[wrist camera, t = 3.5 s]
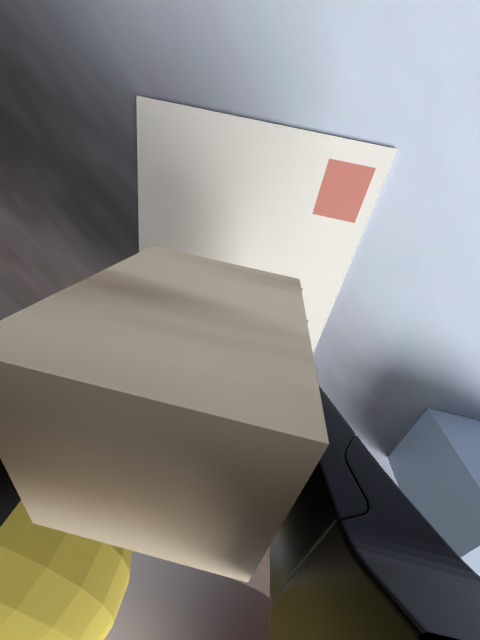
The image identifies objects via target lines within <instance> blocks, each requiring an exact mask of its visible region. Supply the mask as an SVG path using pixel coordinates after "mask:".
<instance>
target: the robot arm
mask: <svg viewBox="0 0 480 640" xmlns="http://www.w3.org/2000/svg"><path fill="white" fill-rule="evenodd" d="M319 391H320V396H321V402H322V407H323V413H324V418H325V424H326V430H327V435H328V441H329V445H328V447H327V448H326V450H325V452H324V454H323V455H322V457H321V459H320V460H319V462H318V464H317V465H316V467H315V469H314V471H313V472H312V474H311V476H310V477H309V479H308V481H307V482H306V484H305V486H304V488H303V489H302V491H301V493H300V494H299V496H298V498H297V499H296V501H295V503H294V505H293V506H292V508H291V510H290V511H289V513H288V515H287V517H286V518H285V520H284V522H283V523H282V525H281V527H280V528H279V530H278V532H277V534H276V535H275V537H274V539H273V540H272V542H271V544H270V602H271V604H270V640H480V576H479V575H478V574H476V573H475V572H474V571H473V570H472V569H471V568H470V567H469V566H468V565H467V564H466V563H465V562H464V561H463V560H462V559H461V558H460V557H459V555H458V554H457V553H456V552H455V551H454V550H453V549H452V548H451V547H450V546H449V544H448V543H447V542H446V541H445V540H444V539H443V538H442V536H441V535H440V534H439V533H438V532H437V531H436V530H435V528H434V527H433V526H432V525H431V524H430V523H429V522H428V520H427V519H426V518H425V517H424V516H423V515H422V514H421V512H420V511H419V510H418V509H417V508H416V507H415V506H414V504H413V503H412V502H411V501H410V500H409V499H408V498H407V497H406V495H405V494H404V493H403V492H402V491H401V490H400V488H399V487H398V486H397V485H396V484H395V483H394V481H393V480H392V479H391V478H390V477H389V476H388V474H387V473H386V472H385V471H384V470H383V468H382V467H381V466H380V465H379V463H378V462H377V461H376V460H375V458H374V457H373V456H372V455H371V453H370V452H369V451H368V450H367V448H366V447H365V446H364V444H363V443H362V442H361V440H360V439H359V438H358V436H356V435H355V433H354V431H353V430H352V429H351V427H350V426H349V425H348V423H347V422H346V421H345V419H344V418H343V417H342V415H341V414H340V413H339V411H338V410H337V409H336V407H335V406H334V405H333V403H332V402H331V401H330V399H329V398H328V397H327V395H326V394H325V393H324V391H323V390H322V389H321V388H320V386H319ZM20 501H21V498H20V496H19V494H18V492H17V490H16V488H15V486H14V484H13V482H12V480H11V478H10V476H9V474H8V472H7V470H6V468H5V466H4V464H3V462H2V460H1V458H0V527H1V526H2V525H3V523H4V522H5V521H6V519H7V518H8V517H9V515H10V514H11V513H12V511H13V510H14V509H15V507H16V506H17V505H18V504H19V502H20Z"/></svg>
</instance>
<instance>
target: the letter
mask: <svg viewBox="0 0 480 640" xmlns="http://www.w3.org/2000/svg"><path fill="white" fill-rule="evenodd" d="M136 102H137V160H138V218H139V252H141V251H143V250H145V249H147V248H149V247H151V246H157V247H161V248H166V249H170V250H174V251H179V252H183V253H188V254H192V255H196V256H201V257H205V258H210V259H214V260H218V261H223V262H227V263H232V264H236V265H240V266H245V267H249V268H253V269H258V270H262V271H267V272H271V273H275V274H280V275H284V276H289V277H293V278H297V279H300V284H301V290H302V296H303V301H304V307H305V312H306V318H307V324H308V329H309V335H310V340H311V346H312V351H313V353H314V350H315V348H316V346H317V343H318V341H319V338H320V336H321V334H322V331H323V329H324V326H325V324H326V322H327V319H328V317H329V314H330V312H331V310H332V307H333V305H334V302H335V300H336V297H337V295H338V293H339V290H340V288H341V285H342V283H343V281H344V278H345V276H346V273H347V271H348V269H349V266H350V264H351V261H352V259H353V257H354V254H355V252H356V249H357V247H358V245H359V242H360V240H361V237H362V235H363V233H364V230H365V228H366V225H367V223H368V220H369V218H370V216H371V213H372V211H373V208H374V206H375V204H376V201H377V199H378V196H379V194H380V192H381V189H382V187H383V184H384V182H385V180H386V177H387V175H388V172H389V170H390V168H391V165H392V163H393V160H394V158H395V155H396V153H397V151H398V149H395V148H390V147H385V146H380V145H375V144H370V143H366V142H361V141H356V140H351V139H346V138H341V137H336V136H331V135H327V134H322V133H317V132H312V131H307V130H302V129H297V128H293V127H288V126H283V125H278V124H273V123H268V122H263V121H258V120H254V119H249V118H244V117H239V116H234V115H229V114H224V113H219V112H215V111H210V110H205V109H200V108H195V107H190V106H185V105H180V104H176V103H171V102H166V101H161V100H156V99H151V98H146V97H141V96H137V95H136Z"/></svg>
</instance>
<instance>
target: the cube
mask: <svg viewBox="0 0 480 640" xmlns="http://www.w3.org/2000/svg"><path fill="white" fill-rule="evenodd" d="M388 460H389V462H390V465H391V468H392V470H393V473H394V475H395V478H396V481H397V483H398V486H399V488H400V490H401V491H402V492H403V493H404V494H405V495H406V497H407V498H408V499H409V500H410V501H411V502H412V503H413V504H414V506H415V507H416V508H417V509H418V510H419V511H420V512H421V514H422V515H423V516H424V517H425V518H426V519H427V520H428V522H429V523H430V524H431V525H432V526H433V527H434V528H435V530H436V531H437V532H438V533H439V534H440V535H441V536H442V538H443V539H444V540H445V541H446V542H447V543H448V544H449V546H450V547H451V548H452V549H453V550H454V551H455V552H456V553H457V554H458V555H459V557H460V558H461V559H462V560H463V561H464V562H465V563H466V564H467V565H468V566H469V567H470V568H471V569H472V570H473V571H474V572H475V573H476V574H478V575H479V576H480V420H475V419H471V418H467V417H463V416H459V415H455V414H451V413H447V412H443V411H438V410H434V409H430V408H427V410H426V411H425V412H424V413H423V414H422V416H421V417H420V418H419V419H418V421H417V422H416V423H415V424H414V425H413V427H412V428H411V429H410V430H409V432H408V433H407V434H406V435H405V436H404V438H403V439H402V440H401V441H400V443H399V444H398V445H397V446H396V448H395V449H394V450H393V451H392V452H391V454H390V455H389V456H388Z"/></svg>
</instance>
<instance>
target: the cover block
mask: <svg viewBox="0 0 480 640" xmlns="http://www.w3.org/2000/svg"><path fill="white" fill-rule="evenodd" d="M328 445H329V441H328V435H327V430H326V424H325V418H324V413H323V407H322V402H321V396H320V391H319V385H318V379H317V374H316V368H315V363H314V357H313V351H312V346H311V340H310V335H309V329H308V324H307V318H306V312H305V307H304V301H303V296H302V290H301V284H300V279H297V278H293V277H289V276H284V275H280V274H275V273H271V272H267V271H262V270H258V269H253V268H249V267H245V266H240V265H236V264H232V263H227V262H223V261H218V260H214V259H210V258H205V257H201V256H196V255H192V254H188V253H183V252H179V251H174V250H170V249H166V248H161V247H157V246H151V247H149V248H147V249H145V250H143V251H141V252H139V253H137V254H135V255H133V256H131V257H129V258H127V259H125V260H123V261H121V262H119V263H117V264H115V265H113V266H111V267H109V268H106V269H104V270H102V271H100V272H98V273H96V274H94V275H92V276H90V277H88V278H86V279H84V280H82V281H80V282H78V283H76V284H74V285H72V286H70V287H68V288H66V289H64V290H62V291H60V292H57V293H55V294H53V295H51V296H49V297H47V298H45V299H43V300H41V301H39V302H37V303H35V304H33V305H31V306H29V307H27V308H25V309H23V310H21V311H19V312H17V313H15V314H13V315H11V316H8V317H6V318H4V319H2V320H0V458H1V460H2V462H3V464H4V466H5V468H6V470H7V472H8V474H9V476H10V478H11V480H12V482H13V484H14V486H15V488H16V490H17V492H18V494H19V496H20V498H21V500H22V502H23V504H24V506H25V508H26V510H27V512H28V514H29V516H30V518H31V520H32V522H33V523H34V524H38V525H41V526H45V527H49V528H52V529H56V530H60V531H63V532H67V533H70V534H74V535H78V536H81V537H85V538H89V539H92V540H96V541H99V542H103V543H107V544H110V545H114V546H117V547H121V548H125V549H128V550H132V551H136V552H139V553H143V554H147V555H150V556H154V557H157V558H161V559H165V560H168V561H172V562H175V563H179V564H183V565H187V566H190V567H194V568H198V569H201V570H205V571H208V572H212V573H215V574H219V575H223V576H226V577H230V578H233V579H237V580H241V581H244V582H248V581H249V579H250V578H251V576H252V574H253V573H254V571H255V569H256V568H257V566H258V564H259V562H260V561H261V559H262V557H263V556H264V554H265V552H266V551H267V549H268V547H269V545H270V544H271V542H272V540H273V539H274V537H275V535H276V534H277V532H278V530H279V528H280V527H281V525H282V523H283V522H284V520H285V518H286V517H287V515H288V513H289V511H290V510H291V508H292V506H293V505H294V503H295V501H296V499H297V498H298V496H299V494H300V493H301V491H302V489H303V488H304V486H305V484H306V482H307V481H308V479H309V477H310V476H311V474H312V472H313V471H314V469H315V467H316V465H317V464H318V462H319V460H320V459H321V457H322V455H323V454H324V452H325V450H326V448H327V447H328Z"/></svg>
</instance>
